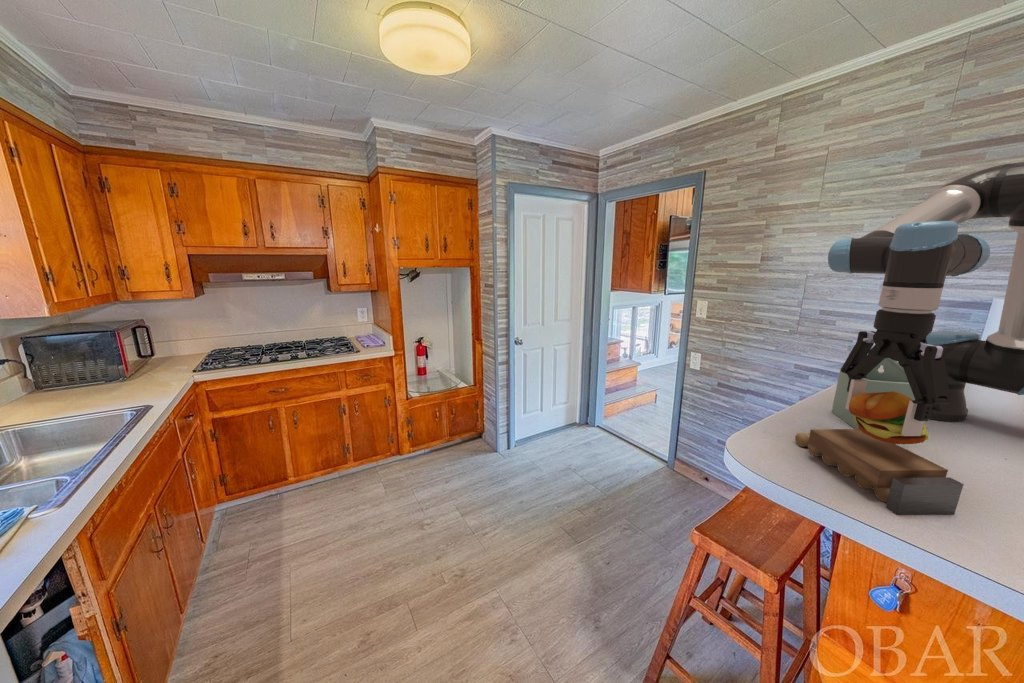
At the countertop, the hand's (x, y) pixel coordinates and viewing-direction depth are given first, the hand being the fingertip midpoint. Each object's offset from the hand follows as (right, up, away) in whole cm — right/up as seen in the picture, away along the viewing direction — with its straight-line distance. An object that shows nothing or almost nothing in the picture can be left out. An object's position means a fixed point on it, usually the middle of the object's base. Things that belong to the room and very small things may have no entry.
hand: (879, 421), depth 72 cm
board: (0, -9, +2) cm, 9 cm away
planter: (+21, -7, +25) cm, 33 cm away
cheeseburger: (+1, -3, 0) cm, 3 cm away
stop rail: (0, -14, -7) cm, 16 cm away
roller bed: (0, -11, +6) cm, 13 cm away
